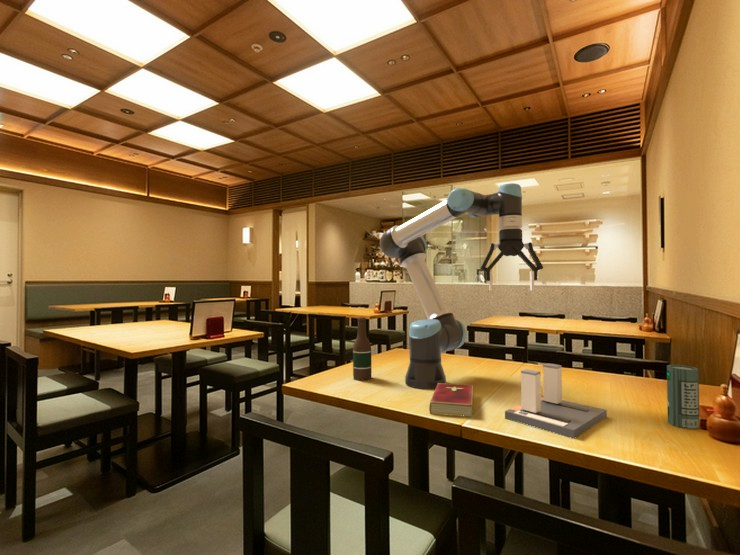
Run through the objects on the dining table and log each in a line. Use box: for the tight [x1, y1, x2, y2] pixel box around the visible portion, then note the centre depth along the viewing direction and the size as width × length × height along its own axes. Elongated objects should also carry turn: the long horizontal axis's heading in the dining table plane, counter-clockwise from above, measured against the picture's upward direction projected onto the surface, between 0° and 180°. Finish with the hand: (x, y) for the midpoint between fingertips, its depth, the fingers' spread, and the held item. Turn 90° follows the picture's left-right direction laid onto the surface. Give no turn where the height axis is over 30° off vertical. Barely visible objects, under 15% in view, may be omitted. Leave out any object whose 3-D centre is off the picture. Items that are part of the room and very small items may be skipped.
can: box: [666, 364, 701, 430], centre depth 99 cm, size 6×6×15 cm
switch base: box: [504, 368, 608, 439], centre depth 105 cm, size 18×22×13 cm
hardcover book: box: [429, 382, 474, 417], centre depth 117 cm, size 12×21×4 cm, turn 164°
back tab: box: [542, 363, 563, 404], centre depth 111 cm, size 4×3×11 cm
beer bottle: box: [352, 316, 372, 381], centre depth 150 cm, size 8×8×24 cm
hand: (511, 290), depth 131 cm, fingers open, 13 cm apart
